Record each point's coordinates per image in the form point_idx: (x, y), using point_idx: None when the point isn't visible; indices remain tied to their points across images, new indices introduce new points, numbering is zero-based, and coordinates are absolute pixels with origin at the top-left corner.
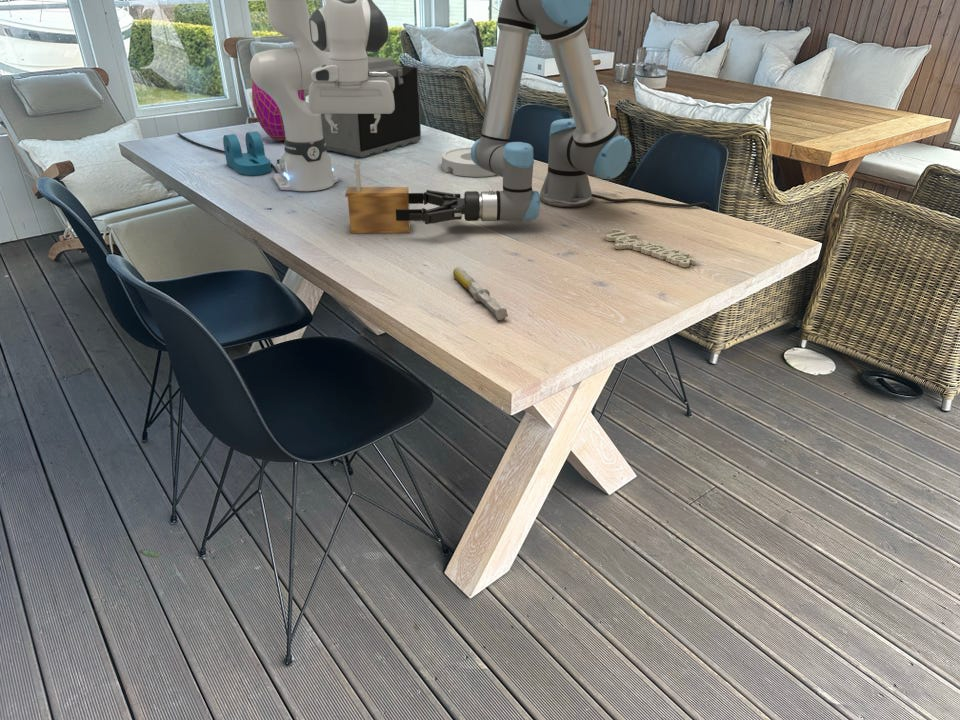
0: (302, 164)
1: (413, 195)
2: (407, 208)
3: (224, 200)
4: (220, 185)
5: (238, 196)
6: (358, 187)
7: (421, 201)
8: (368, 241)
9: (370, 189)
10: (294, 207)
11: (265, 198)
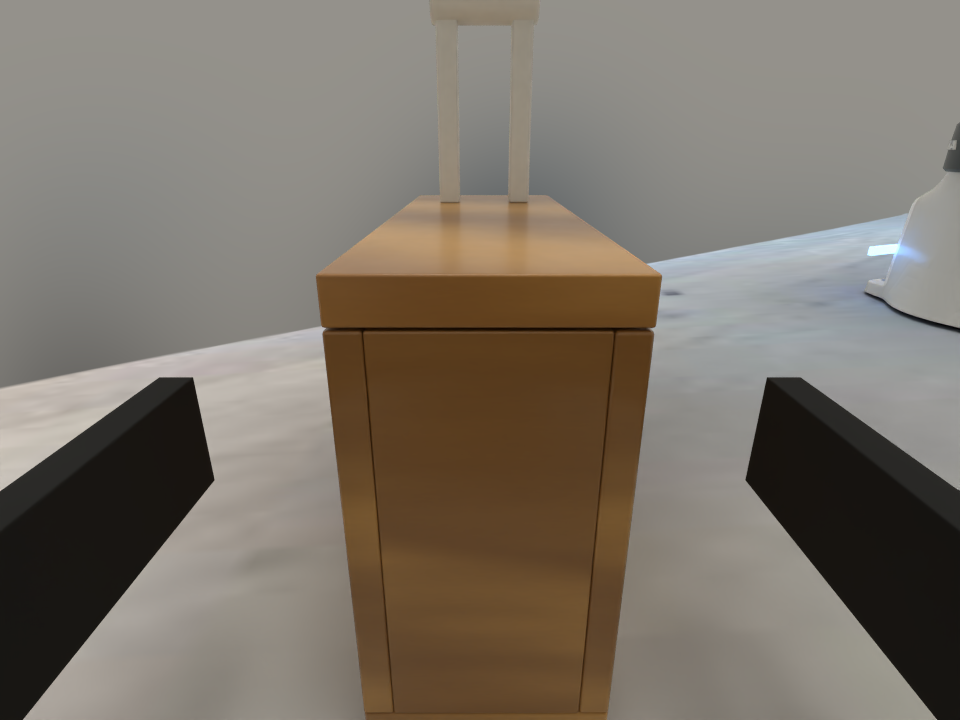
0: (952, 211)
1: (883, 500)
2: (340, 486)
3: (700, 262)
4: (804, 253)
5: (744, 267)
6: (439, 169)
7: (954, 694)
8: (267, 482)
9: (500, 210)
10: (716, 314)
11: (762, 285)
